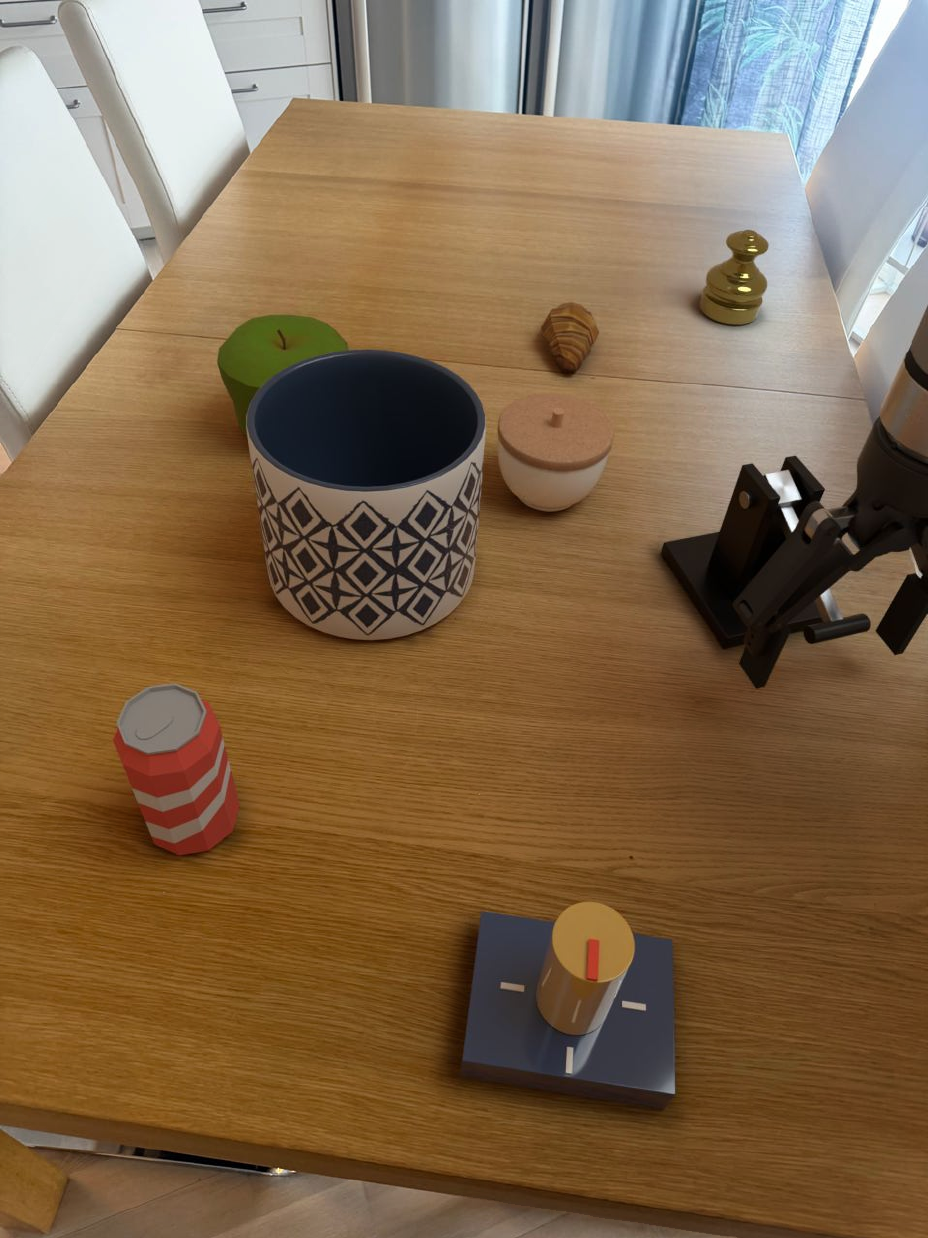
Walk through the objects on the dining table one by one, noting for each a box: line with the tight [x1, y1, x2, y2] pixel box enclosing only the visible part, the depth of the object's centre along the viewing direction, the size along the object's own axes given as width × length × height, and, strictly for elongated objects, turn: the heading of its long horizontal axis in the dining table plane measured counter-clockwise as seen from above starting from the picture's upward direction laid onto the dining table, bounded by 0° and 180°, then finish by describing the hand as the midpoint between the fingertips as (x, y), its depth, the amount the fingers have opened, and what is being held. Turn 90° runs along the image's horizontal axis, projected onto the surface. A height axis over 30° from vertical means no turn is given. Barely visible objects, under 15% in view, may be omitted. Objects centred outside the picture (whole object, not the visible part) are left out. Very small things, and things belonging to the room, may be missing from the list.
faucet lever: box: [763, 470, 872, 645], centre depth 73 cm, size 14×5×2 cm, turn 18°
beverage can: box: [112, 682, 241, 856], centre depth 60 cm, size 6×6×12 cm
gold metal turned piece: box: [699, 229, 770, 326], centre depth 112 cm, size 7×7×10 cm
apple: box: [216, 314, 350, 437], centre depth 91 cm, size 12×12×11 cm
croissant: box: [540, 301, 600, 375], centre depth 107 cm, size 14×7×5 cm, turn 175°
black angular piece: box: [660, 455, 826, 650], centre depth 78 cm, size 12×10×13 cm
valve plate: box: [459, 910, 676, 1111], centre depth 56 cm, size 12×9×3 cm
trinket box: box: [496, 392, 615, 513], centre depth 87 cm, size 11×11×9 cm
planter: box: [246, 349, 487, 641], centre depth 76 cm, size 18×18×16 cm
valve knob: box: [536, 901, 635, 1035], centre depth 52 cm, size 4×4×8 cm
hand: (821, 658), depth 73 cm, fingers open, 12 cm apart
